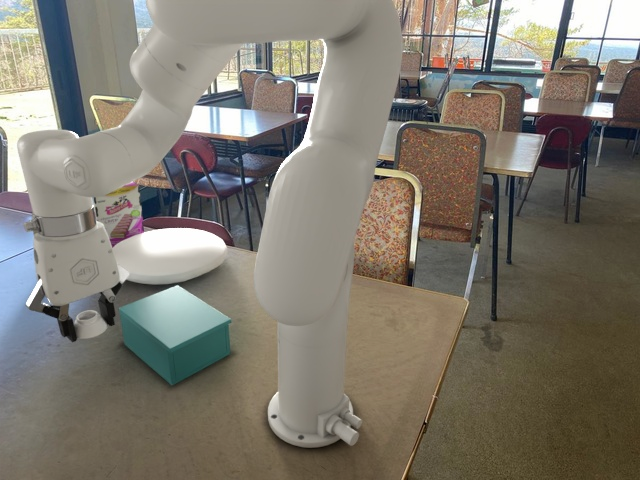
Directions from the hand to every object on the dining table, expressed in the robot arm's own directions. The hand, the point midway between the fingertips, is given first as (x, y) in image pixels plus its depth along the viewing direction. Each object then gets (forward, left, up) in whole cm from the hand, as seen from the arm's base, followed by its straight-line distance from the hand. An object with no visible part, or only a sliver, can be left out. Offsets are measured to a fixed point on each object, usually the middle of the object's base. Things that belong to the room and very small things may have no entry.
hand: (90, 329), depth 74 cm
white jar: (0, 0, -1) cm, 1 cm away
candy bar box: (+45, -27, -9) cm, 54 cm away
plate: (+27, -30, -9) cm, 42 cm away
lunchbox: (-3, -13, -9) cm, 16 cm away
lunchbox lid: (-3, -13, -2) cm, 13 cm away
